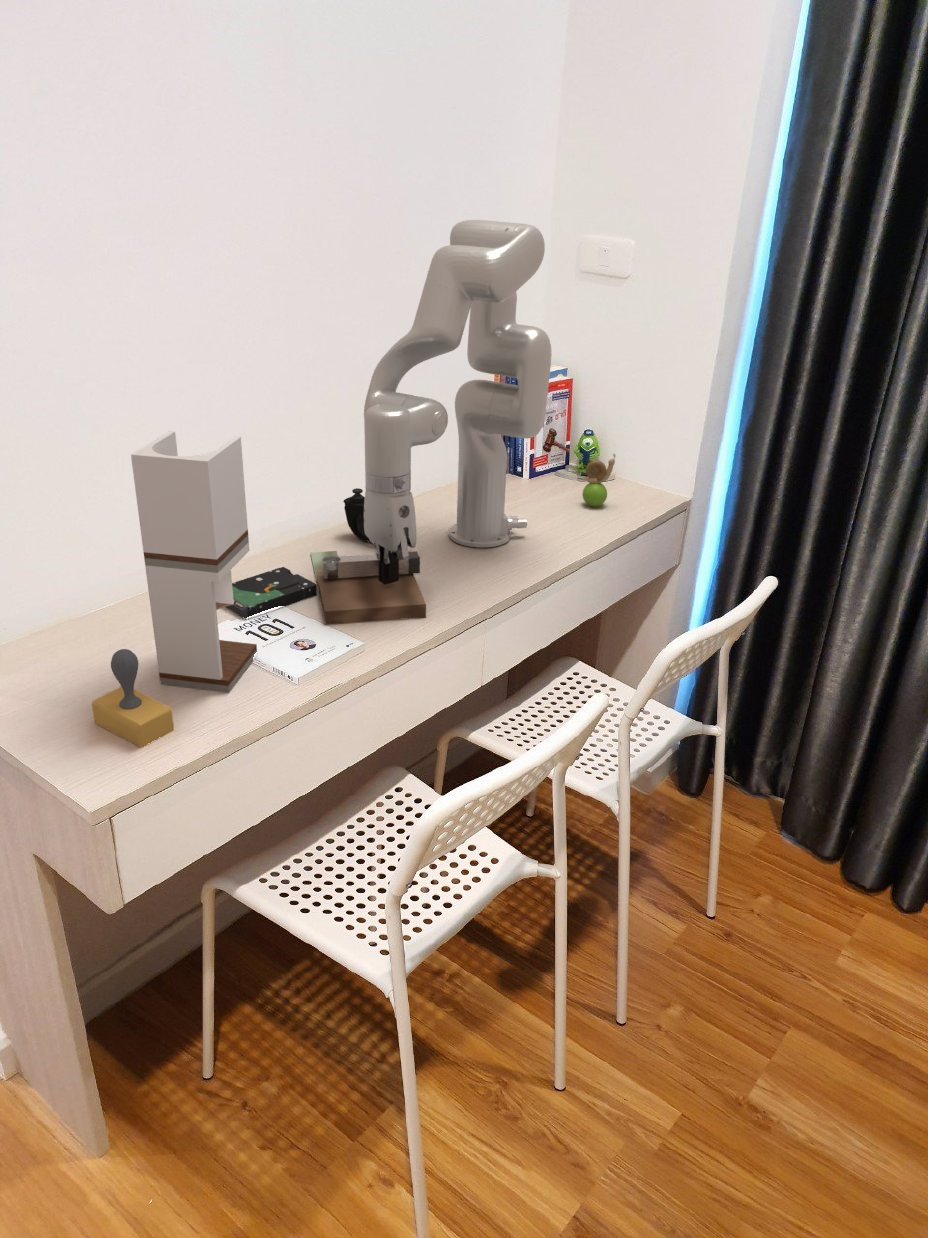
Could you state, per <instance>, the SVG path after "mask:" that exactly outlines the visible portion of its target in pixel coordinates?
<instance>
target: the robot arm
mask: <svg viewBox="0 0 928 1238" xmlns="http://www.w3.org/2000/svg"><path fill="white" fill-rule="evenodd" d="M545 243H546V242H545V239H544V235H543V234H542V232H541V231H540V229H539V228H537V227H536V226H534V225H533V224H527V223H519V222H518V223H517V222H505V221H497V220H487V219H483V220H482V219H468V220H462V221H459V222H457V223H456V224H455V225H453V226H452V228H451V230H450V235H449V245H445V246H443V247H440V248H439V249H437V250H436V251H435V253H434V254H433V255H432V257H431V261H430V264H429V268H428V271H427V273H426V279H425V282H424V285H423V289H422V292H421V296H420V299H419V302H418V306H417V309H416V311H415V312H416V313H415V317H414V320H413V323H412V326H411V329H409V331H408V332H407V333H406V334H405V335H404V336H402V337H401V338H400V339H398V340H397V341H396V342H395V343H394V344H393V345H392V346H391V347H390V348H389V349H388V351H386V352H385V354H384V355H383V356H382V357H381V359H380V360H379V362H378V363H377V364H376V366H375V368H374V370H373V373H372V376H371V380H370V383H369V386H368V390H367V392H366V397H365V400H364V401H365V402H364V407H363V419H364V420H363V422H364V423H363V424H364V425H363V427H364V471H365V473H364V475H365V479H364V480H365V482H364V483H365V486H364V487H365V491H364V497H365V500H364V531H365V534H366V536H367V537H368V538H369V540H370V541H371V542H370V543H372V544H373V546H374V547H375V554H376V557H377V559H378V560H380V561H378V580H379V581H380V582H382V583H383V584H384V585H386V584H389V583H393V582H397V581H398V580H399V561H400V560H403V559H407V558H409V554H408V552H409V548H412V549H413V548H415V547H416V546H417V519H416V509H415V508H416V507H415V502H414V496H413V492H412V491H411V488H412V487H411V485H412V482H411V480H412V478H411V477H412V476H411V475H412V471H411V470H412V469H411V467H412V466H411V465H412V463H411V461H412V448H413V447H415V446H417V447H418V446H422V445H428V444H432V443H434V442H436V441H437V440H439V439H440V438H441V437H442V436H444V435H443V434H444V433H445V432H446V430H447V427H448V423H449V415H448V410H447V408H446V407H445V406H444V405H443V404H442V403H441V402H440V401H438V400H436V399H433V398H429V397H425V396H418V395H413V394H407V393H403V392H402V393H401V392H397V390H398V386H399V384H400V383H401V381H402V379H403V378H404V377H405V375H406V374H407V373H408V372H409V371H410V370H412V369H413V368H414V367H416V366H418V365H419V364H422V363H423V362H425V361H428V360H431V359H434V358H437V357H439V356H442V355H445V354H447V353H450V352H453V351H455V350H456V349H458V347H459V346H460V345H461V343H462V342H461V341H462V338H463V335H464V332H465V328H466V324H467V320H468V317H469V323H468V336H467V337H468V338H467V352H466V353H467V362H468V364H469V366H470V367H471V368H472V369H473V370H475V371H477V372H480V373H485V374H489V375H494V376H495V375H496V376H501V377H502V376H503V377H507V378H514V379H516V380H517V384H510V383H505V382H501V381H500V382H499V381H495V380H488V379H471V380H469V381H466V382H464V383H463V384H462V385H460V387H459V388H458V390H457V392H456V395H455V397H454V398H455V399H454V413H455V419H456V424H457V433H458V434H457V435H458V464H457V466H458V467H457V469H458V470H457V501H456V503H457V504H456V523H454V524H453V525H451V526H450V527H449V529H448V536H449V539H451V541H453V542H454V543H456V544H458V545H462V546H464V547H470V548H482V549H484V548H494V547H498V546H502V545H504V544H506V543H508V542H509V541H510V540H511V532H512V529H526V528H527V526H528V521H527V518H518V515H510V516H507V515H506V514H505V505H506V501H505V500H506V484H507V483H506V482H507V465H508V453H507V447H506V445H505V442H504V440H503V438H502V436H506V437H507V436H508V437H510V438H518V439H532V438H535V437H536V436H537V435H538V434H539V433H540V432H541V430H542V428H543V425H544V421H545V417H546V412H547V404H548V403H547V402H548V395H549V393H548V392H549V385H550V383H549V382H550V374H551V366H552V365H551V364H552V344H551V341H550V337H549V336H548V334H547V333H546V331H544V329H542V328H539V327H538V326H534V325H526V324H519V323H517V320H516V317H517V302H518V293H517V291H519V289H521V288H522V287H523V286H524V285H525V284H526V283H527V282H528V281H529V280H530V279H531V278H533V276H534V275H535V274H536V273H537V272H538V270H539V269H540V266H541V265H542V262H543V261H544V257H545V252H546V251H545V250H546V249H545V248H546V247H545V245H546V244H545Z"/></svg>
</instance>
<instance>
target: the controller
mask: <svg viewBox="0 0 928 1238" xmlns="http://www.w3.org/2000/svg"><path fill="white" fill-rule="evenodd" d="M363 491H364V490H363V489H362V488H356V487H355V488H353V489H352V493H353V495H352V496H350V497H347V498H345V499H344V500H343V503H344V508H343V509H344V513H345V518H346V522H347V525H348V527H349V529H350V531H351V533H353V535H354V536H355V537H356V538H358V539H359V540H360V541H364V542H367V543H372V542H371V541H370V540H369V538H368V537H367V536H366V534H365V531H364V500H365V495H362V493H363Z"/></svg>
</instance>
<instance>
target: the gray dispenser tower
mask: <svg viewBox="0 0 928 1238" xmlns="http://www.w3.org/2000/svg"><path fill="white" fill-rule="evenodd" d="M176 436H177V435H176V431H173V430H169V431H167V432H164V434H162V435H160V436H159V437H157V438H156V439H154V440H153V441H150V442H149V443H148V444H147V443H146V445H145V446H144V445H143V447H140V449H138V450H136V451H135V452H133V453H131V454H130V458H131V459H130V460H131V465H132V473H133V480H134V481H133V482H134V488H135V489H134V491H135V496H136V497H135V498H136V505H137V512H138V519H139V527H140V536H141V543H142V551H143V559H144V565H145V574H146V581H147V589H148V599H149V604H150V605H149V606H150V613H151V621H152V622H151V623H152V629H153V637H154V643H155V644H154V645H155V653H156V661H157V667H158V675H159V676H158V677H159V682H160V683H159V684H160V685H162V686H168V687H169V686H170V687H178V688H185V689H194V690H201V691H203V690H204V691H211V692H219V693H228V694H229V693H230V692H231V691H232V690H233V688H234V687H235V686H236V684H237V683H239V681H240V680H241V678H242V677H243V676H244V675H245V673H246V672H247V671H248V669H249V668H250V666H251V665H252V664H253V662H254V661H253V657H254V654H255V653H256V652H257V653H258V648H257V647H258V646H257V643H249V642H241V641H240V642H239V641H232V640H223V639H220V633H219V623H218V612H217V610H220V609H223V608H226V606H230V605H234V601H233V589H232V583H233V580H232V569H233V568H234V567H235V566H236V565H237V564H238V563H239V562H240V561H241V560H242V559H243V558H244V557H245V556H246V555H247V554H248V553H249V552H250V540H249V539H250V538H249V529H248V528H249V526H248V514H247V501H246V499H247V498H246V489H245V486H246V485H245V476H244V474H245V473H244V462H243V461H244V459H243V449H242V448H243V447H242V446H243V445H242V436H234V437H232V438H231V439H229V440H228V441H226V442H225V443H223V444H222V445H221V446H220V447H218V448H217V449H215V450H213V451H210V452H206V453H203V454H202V453H201V454H197V455H196V454H195V455H186V456H185V455H184V456H183V455H182V456H181V455H178V453H179V452H178V446H177V437H176Z"/></svg>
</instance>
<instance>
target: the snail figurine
mask: <svg viewBox="0 0 928 1238" xmlns="http://www.w3.org/2000/svg"><path fill="white" fill-rule="evenodd" d="M612 456H613V458H610V459H609V460H608V466H606V465H605V463H604V462H602V461H600V460H591V461H590V462H588V463H587V464H586V466H585V474H586V475H587V476H586V477H584V479H585V481H587V482H588V483H587V484H585V486H584V487H583V490H582V499H583V501H584V502H585V504H587V506H590V507H599V506H601V505H603V504H604V503H605V502H606V500H607V497H608V490H607V488H606V486H605V485H604V484H603V483H605V482H606V481H607V480H608V479H609V478H610V476H611V474H612V472H613V469H614V465H615V463H616V460H615V458H616V456H617V455H616V454H615V453H612Z"/></svg>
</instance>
